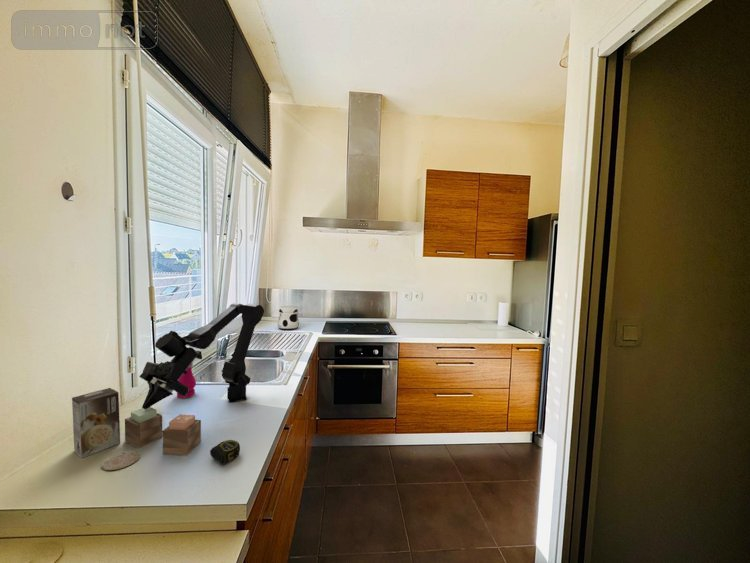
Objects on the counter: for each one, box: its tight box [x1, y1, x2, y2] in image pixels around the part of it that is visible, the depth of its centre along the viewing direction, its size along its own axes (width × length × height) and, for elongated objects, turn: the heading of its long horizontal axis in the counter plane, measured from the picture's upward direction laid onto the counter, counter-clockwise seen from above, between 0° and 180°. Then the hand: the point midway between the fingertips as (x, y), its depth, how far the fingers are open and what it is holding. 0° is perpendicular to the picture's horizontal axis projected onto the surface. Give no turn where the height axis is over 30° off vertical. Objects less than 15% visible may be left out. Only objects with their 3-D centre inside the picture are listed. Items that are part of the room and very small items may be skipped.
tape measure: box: [209, 439, 241, 465], centre depth 89 cm, size 7×7×4 cm
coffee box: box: [71, 387, 121, 459], centre depth 92 cm, size 9×6×16 cm
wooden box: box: [162, 419, 202, 457], centre depth 93 cm, size 7×7×7 cm
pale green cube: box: [130, 406, 158, 423], centre depth 97 cm, size 5×5×5 cm
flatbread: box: [101, 451, 141, 471], centre depth 86 cm, size 8×8×1 cm
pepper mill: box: [176, 361, 197, 399], centre depth 128 cm, size 7×7×20 cm
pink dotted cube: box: [168, 413, 196, 430], centre depth 93 cm, size 5×5×5 cm
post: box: [124, 412, 163, 449], centre depth 97 cm, size 7×7×7 cm
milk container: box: [277, 305, 300, 331], centre depth 259 cm, size 17×17×18 cm
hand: (143, 408), depth 97 cm, fingers closed
